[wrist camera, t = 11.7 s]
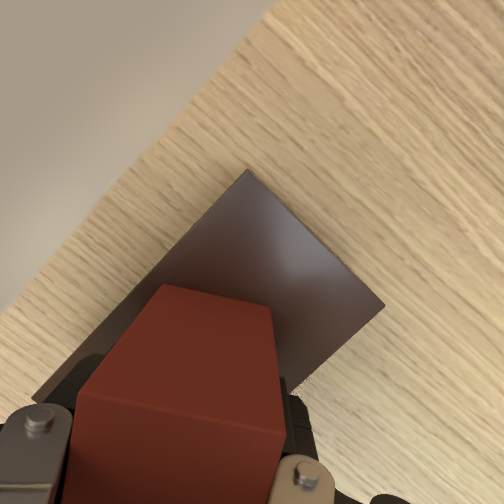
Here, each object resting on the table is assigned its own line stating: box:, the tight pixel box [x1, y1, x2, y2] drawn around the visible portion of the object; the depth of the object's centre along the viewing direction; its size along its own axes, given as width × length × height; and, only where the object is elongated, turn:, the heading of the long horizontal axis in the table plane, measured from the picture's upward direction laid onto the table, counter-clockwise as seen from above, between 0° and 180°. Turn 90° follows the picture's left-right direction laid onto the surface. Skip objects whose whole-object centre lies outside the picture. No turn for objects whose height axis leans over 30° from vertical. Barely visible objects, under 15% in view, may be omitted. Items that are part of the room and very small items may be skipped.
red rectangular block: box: [61, 284, 287, 504], centre depth 11 cm, size 5×4×7 cm
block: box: [31, 169, 385, 404], centre depth 17 cm, size 12×7×5 cm, turn 136°
